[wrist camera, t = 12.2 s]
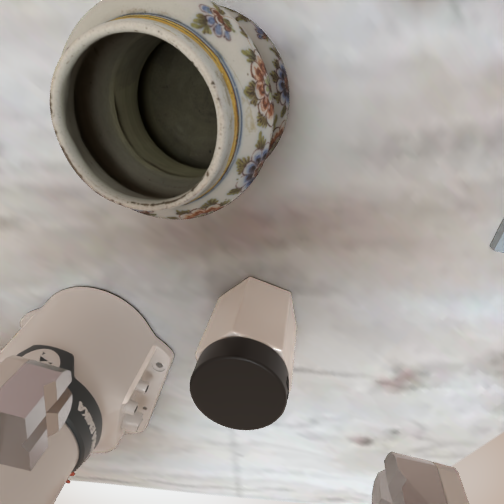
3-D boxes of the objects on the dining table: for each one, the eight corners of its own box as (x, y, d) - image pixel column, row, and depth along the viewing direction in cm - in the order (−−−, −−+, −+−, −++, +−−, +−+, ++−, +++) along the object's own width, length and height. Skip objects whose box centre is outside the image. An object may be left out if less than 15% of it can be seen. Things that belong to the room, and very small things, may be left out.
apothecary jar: (273, -13, 30) (217, -84, 14) (308, 145, 35) (297, 223, 19) (132, 39, 33) (-41, 28, 18) (182, 177, 38) (81, 268, 22)
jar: (251, 355, 46) (230, 445, 36) (203, 306, 44) (165, 386, 34) (315, 318, 43) (312, 406, 32) (265, 263, 41) (245, 337, 30)
